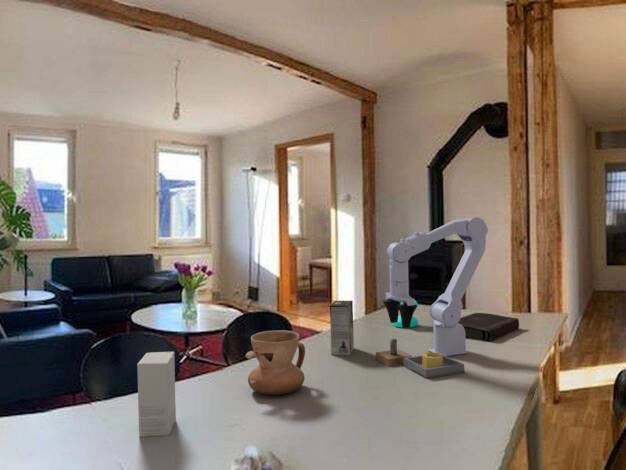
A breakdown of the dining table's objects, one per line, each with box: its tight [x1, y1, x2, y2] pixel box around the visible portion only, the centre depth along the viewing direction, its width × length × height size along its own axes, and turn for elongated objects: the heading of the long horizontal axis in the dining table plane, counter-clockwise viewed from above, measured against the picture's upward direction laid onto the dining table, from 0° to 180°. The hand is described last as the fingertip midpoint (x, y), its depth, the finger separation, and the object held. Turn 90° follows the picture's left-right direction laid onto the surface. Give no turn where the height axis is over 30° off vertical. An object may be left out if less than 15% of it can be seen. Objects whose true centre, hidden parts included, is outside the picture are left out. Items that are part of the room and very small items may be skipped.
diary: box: [458, 312, 520, 343], centre depth 185 cm, size 19×25×5 cm
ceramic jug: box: [245, 329, 306, 396], centre depth 129 cm, size 18×14×14 cm
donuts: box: [392, 299, 419, 329], centre depth 198 cm, size 10×10×10 cm
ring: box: [421, 351, 443, 369], centre depth 142 cm, size 5×5×4 cm
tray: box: [402, 355, 465, 379], centre depth 142 cm, size 12×12×2 cm
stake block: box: [375, 338, 413, 367], centre depth 151 cm, size 8×8×6 cm
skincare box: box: [136, 351, 177, 438], centre depth 107 cm, size 8×7×16 cm
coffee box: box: [329, 300, 355, 356], centre depth 163 cm, size 9×6×16 cm
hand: (399, 325), depth 155 cm, fingers open, 7 cm apart
